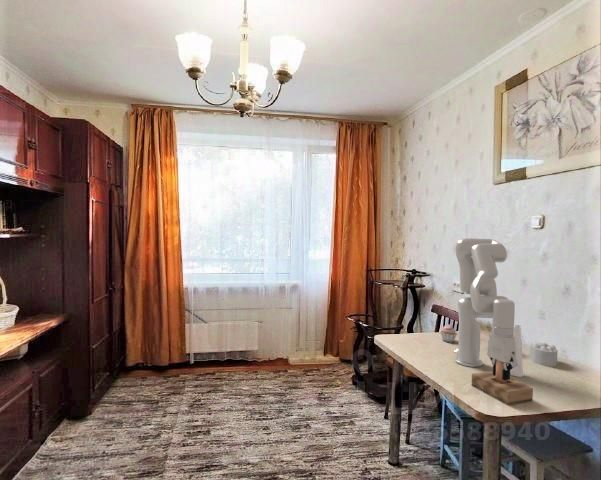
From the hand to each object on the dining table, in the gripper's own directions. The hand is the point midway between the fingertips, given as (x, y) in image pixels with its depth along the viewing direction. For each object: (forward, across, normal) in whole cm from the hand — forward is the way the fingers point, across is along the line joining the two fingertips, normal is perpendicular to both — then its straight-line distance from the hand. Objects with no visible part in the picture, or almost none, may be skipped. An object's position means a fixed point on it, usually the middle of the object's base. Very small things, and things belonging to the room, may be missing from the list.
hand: (501, 376), depth 150 cm
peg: (+3, 0, 0) cm, 3 cm away
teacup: (+6, -43, +41) cm, 60 cm away
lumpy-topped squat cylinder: (+7, -23, +51) cm, 56 cm away
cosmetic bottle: (+7, -14, +23) cm, 28 cm away
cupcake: (+6, -65, +28) cm, 71 cm away
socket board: (+6, 0, 0) cm, 6 cm away
